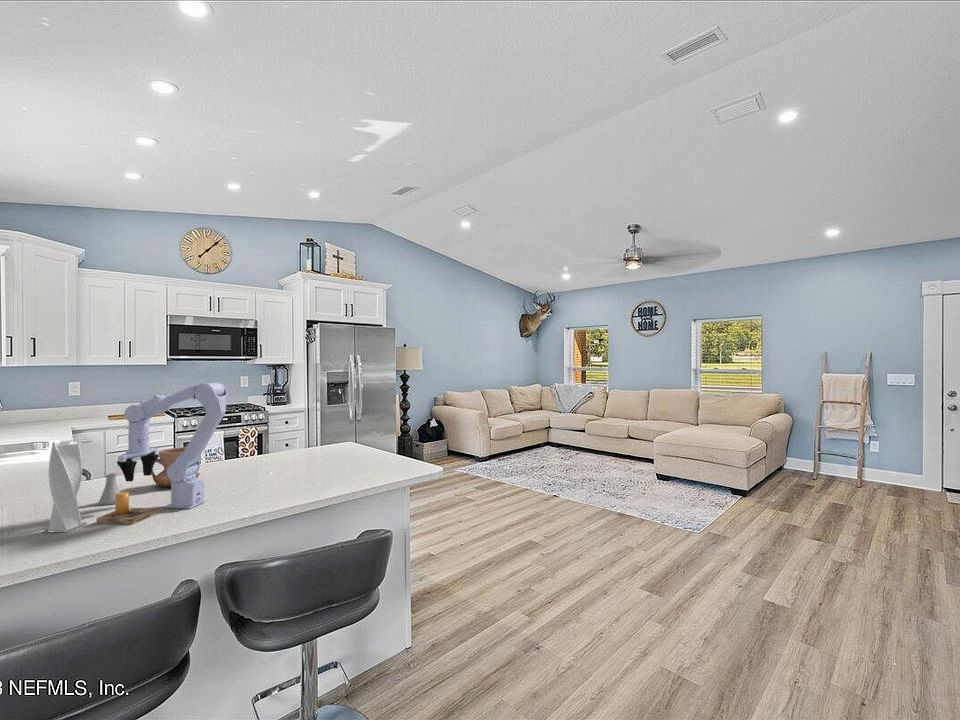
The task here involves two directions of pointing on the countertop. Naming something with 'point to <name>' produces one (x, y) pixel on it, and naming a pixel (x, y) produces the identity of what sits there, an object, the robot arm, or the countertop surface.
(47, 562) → the countertop surface
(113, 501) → the flask
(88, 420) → the countertop surface
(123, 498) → the orange upright cylinder
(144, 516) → the wooden tray
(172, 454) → the ceramic jug
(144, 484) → the countertop surface
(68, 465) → the skyscraper
